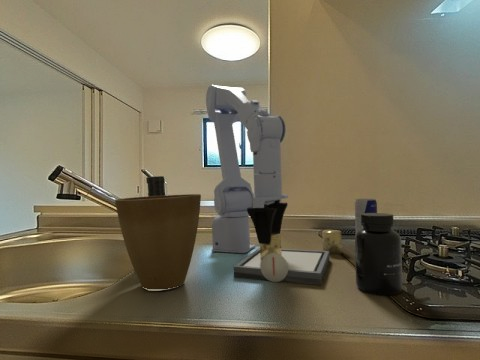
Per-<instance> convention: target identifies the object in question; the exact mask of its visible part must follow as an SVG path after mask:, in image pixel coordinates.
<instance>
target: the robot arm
mask: <svg viewBox="0 0 480 360" xmlns="http://www.w3.org/2000/svg"><path fill="white" fill-rule="evenodd" d="M246 93H247V92H246V89H244V88H243V87H242V86H241V87H231V86H226V85H225V86H224V85H223V86H222V85H214V84H210V85H209V86H208V87H207V90H206V93H205V94H206V95H205V104H206V112H207V117H208V120H210V121H211V122H212V123H213V124H214V126H213V127H214V130H215V136H216V143H217V150H218V156H219V157H218V158H219V163H220V169H221V171H220V172H221V177H222V180H221V181H220V182H219V183H218V184H216V186H215V188H214V190H213V194H214V197H213V204H214V210H215V212H216V214H217V216H215V217H214V218H213V219H212V225H211V235H212V236H211V239H212V240H211V241H212V249H211V252H216V253H217V252H218V253H234V254H235V253H236V254H247V252H249V251H251V250H253V248H255V247H256V245H255V244H251V237H250V219H251V221H252V223H253V227H254V230H255V233H256V238H257V241H258V244H259V245H260V244H269V243H270V241H271V233H272V232H275V233H280V234H281V229H282V223H283V219H284V214H285V213H286V209H287V207H288V202H282V200H283V199H288V198H289V195H288V194H283V187H282V185H283V183H282V178H283V177H282V157H281V154H282V153H281V149H282V148H281V143H282V142H283V141H284V140H285V135H286V123H285V120H284V118H283V117H282V116H281V115H271V114H270V113H269V111H268V110H267V109H265V108H264V107H263V106H261V105H260V102H259V100H256V99H254V100H253V99H251V100H249V99H248V98H247V94H246ZM238 121H239V122H240V123H241V124H242V125H243V126H244V128H245V129H246V130H247V131H246V135H247V140H248V142H249V149H250V152H251V153H252V159H253V160H252V161H253V189H252V185H251V183H250V182H249V181H247V180H245V179H244V178H242V176H241V175H242V174H241V169H240V165H239V158H238V157H239V156H238V152H237V146H236V139H235V133H234V129H233V128H234V127H233V125H234V124H235V123H237V122H238ZM253 191H254V192H253Z"/></svg>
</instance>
